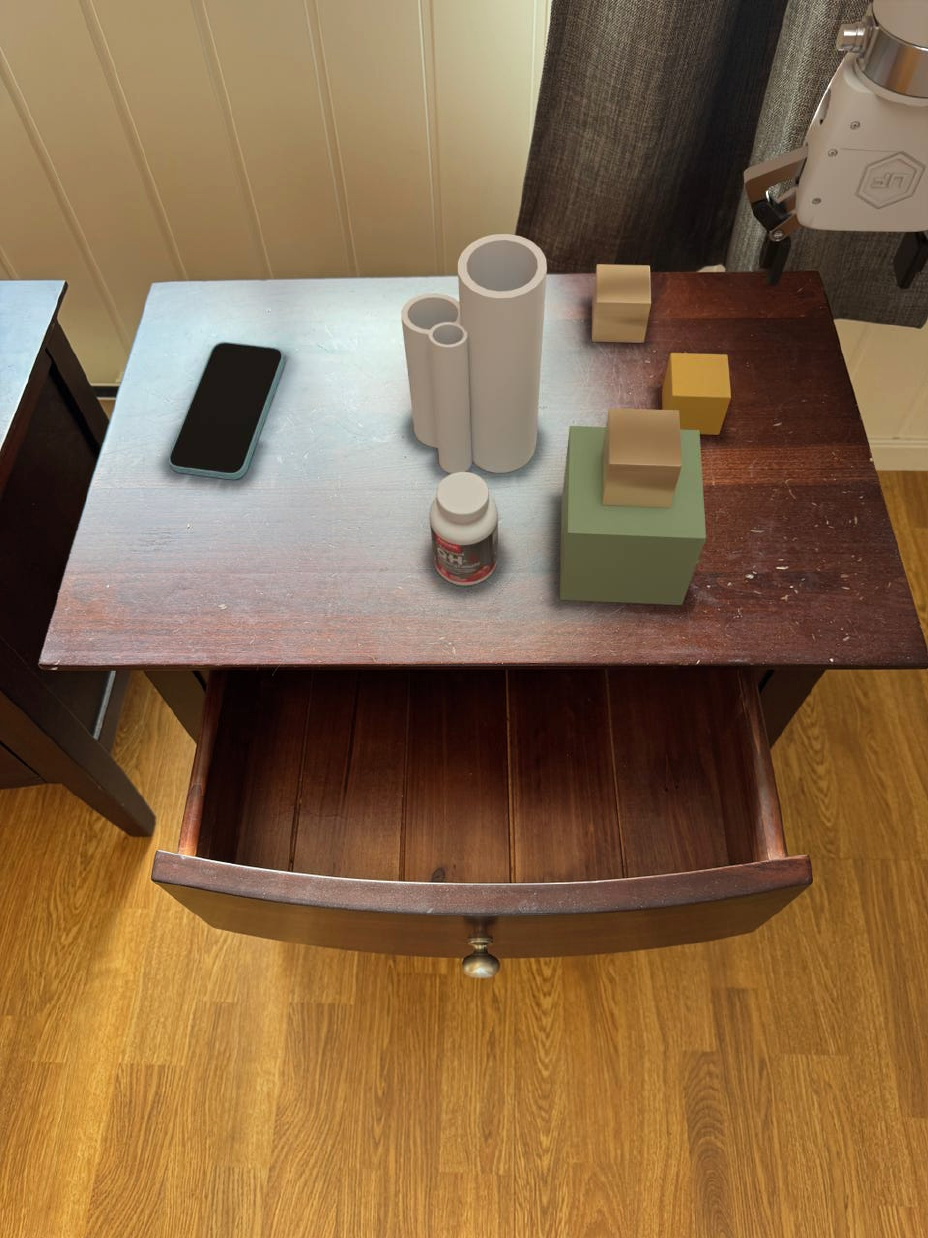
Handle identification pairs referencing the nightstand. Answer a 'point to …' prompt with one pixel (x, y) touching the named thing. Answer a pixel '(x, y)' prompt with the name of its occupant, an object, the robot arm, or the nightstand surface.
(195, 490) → the nightstand surface
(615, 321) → the far maple block
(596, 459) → the stand
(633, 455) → the near maple block
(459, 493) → the pill bottle
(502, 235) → the vase
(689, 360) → the mustard block
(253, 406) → the smartphone
